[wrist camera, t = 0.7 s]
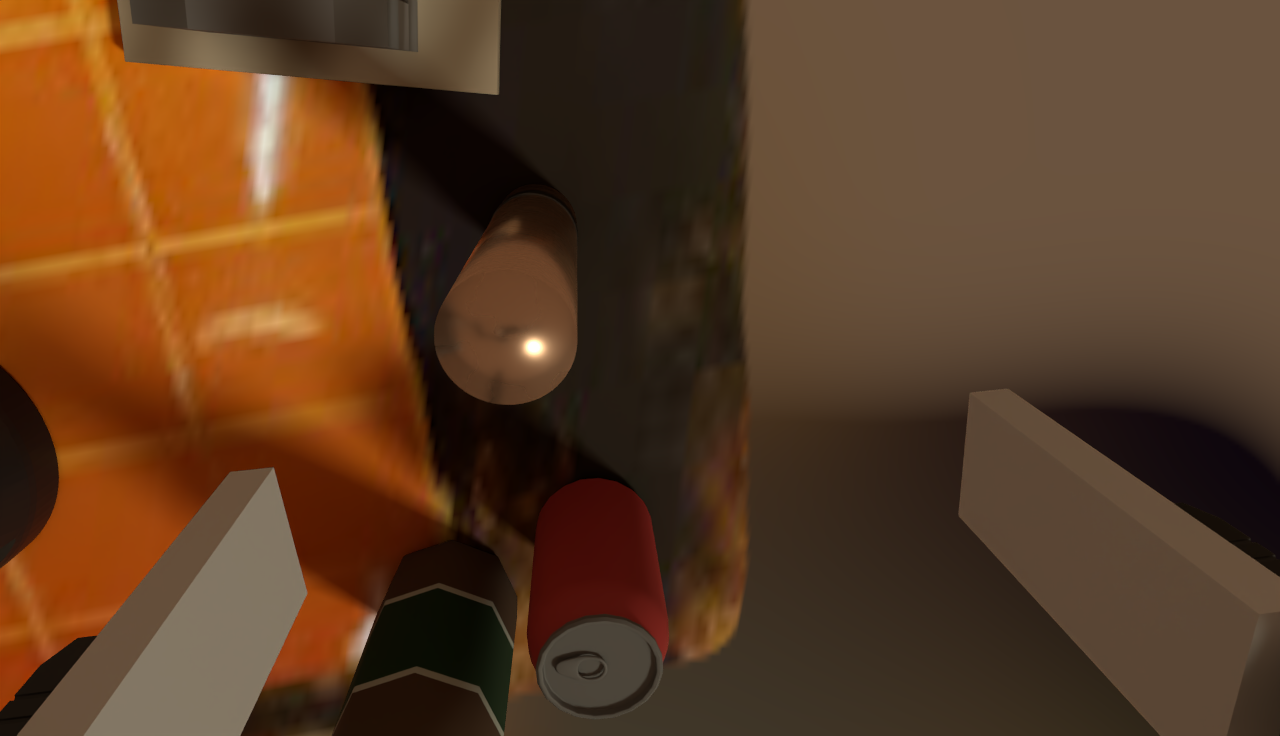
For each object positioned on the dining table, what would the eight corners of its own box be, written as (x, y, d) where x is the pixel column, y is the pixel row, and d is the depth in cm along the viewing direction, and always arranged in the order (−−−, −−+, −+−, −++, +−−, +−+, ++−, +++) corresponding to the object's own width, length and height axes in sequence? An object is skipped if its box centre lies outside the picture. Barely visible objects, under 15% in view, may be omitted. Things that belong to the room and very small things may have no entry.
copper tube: (494, 262, 39) (432, 402, 22) (495, 179, 38) (431, 263, 21) (575, 268, 40) (574, 409, 23) (580, 186, 38) (583, 273, 22)
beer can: (540, 469, 44) (528, 605, 32) (656, 476, 44) (684, 612, 33) (533, 568, 46) (519, 728, 35) (644, 573, 47) (665, 731, 35)
